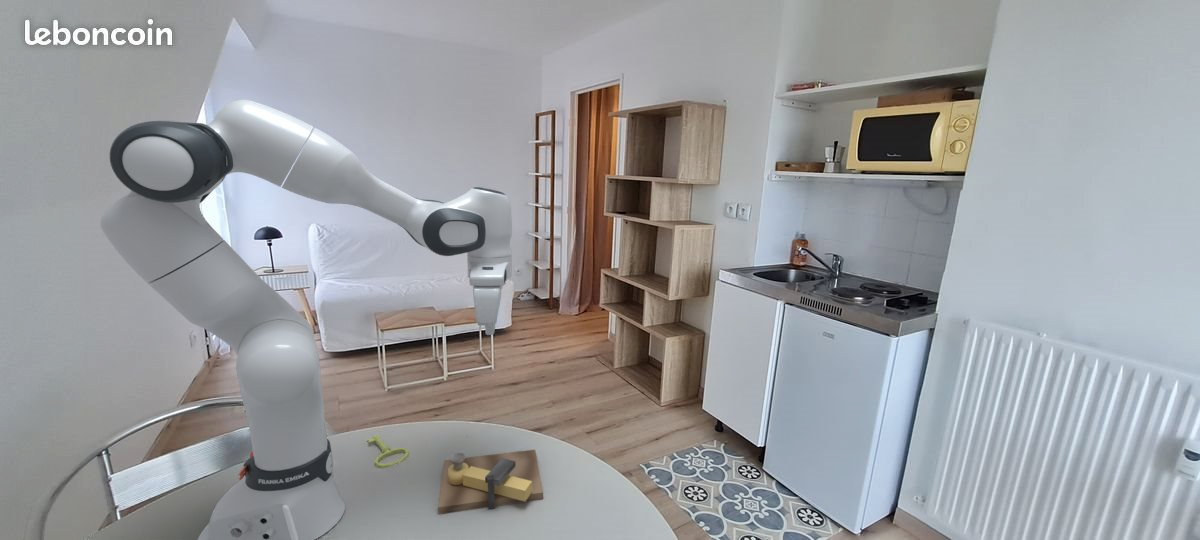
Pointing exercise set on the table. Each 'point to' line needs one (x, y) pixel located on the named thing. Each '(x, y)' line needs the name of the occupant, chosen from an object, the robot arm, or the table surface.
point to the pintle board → (488, 480)
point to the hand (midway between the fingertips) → (490, 332)
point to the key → (387, 452)
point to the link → (476, 480)
